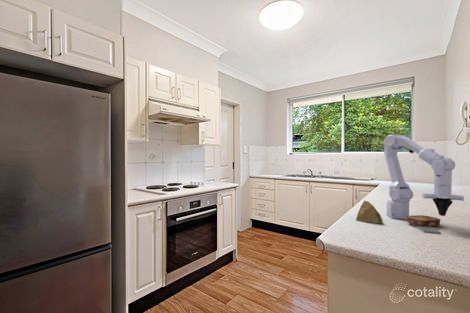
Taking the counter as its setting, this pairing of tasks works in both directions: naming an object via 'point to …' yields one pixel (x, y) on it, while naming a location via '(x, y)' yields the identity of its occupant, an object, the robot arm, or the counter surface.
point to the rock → (368, 213)
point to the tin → (423, 220)
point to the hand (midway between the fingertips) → (442, 215)
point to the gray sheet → (426, 229)
